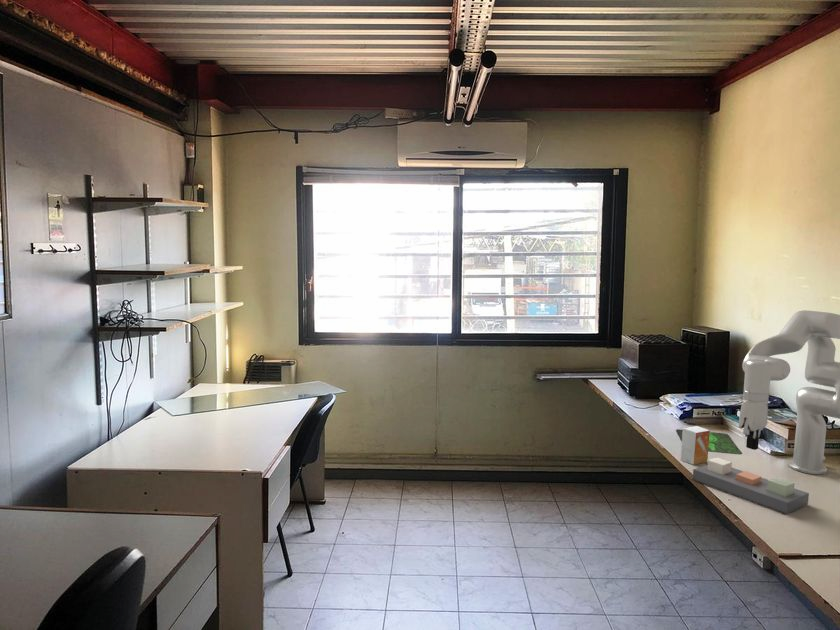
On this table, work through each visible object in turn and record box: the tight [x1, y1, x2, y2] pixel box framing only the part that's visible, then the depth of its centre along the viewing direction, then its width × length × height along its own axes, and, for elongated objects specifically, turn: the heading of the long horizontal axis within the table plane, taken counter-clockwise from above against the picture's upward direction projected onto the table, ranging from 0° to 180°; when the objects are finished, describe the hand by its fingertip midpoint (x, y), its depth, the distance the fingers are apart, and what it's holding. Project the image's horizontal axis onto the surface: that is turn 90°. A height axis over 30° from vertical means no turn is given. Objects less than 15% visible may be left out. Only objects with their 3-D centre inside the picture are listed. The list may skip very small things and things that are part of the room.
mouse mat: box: [675, 428, 743, 455], centre depth 256 cm, size 27×22×1 cm
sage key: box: [767, 476, 795, 497], centre depth 194 cm, size 6×6×5 cm
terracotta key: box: [736, 470, 762, 486], centre depth 203 cm, size 6×6×5 cm
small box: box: [679, 425, 711, 466], centre depth 231 cm, size 8×6×13 cm
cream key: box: [707, 456, 733, 475], centre depth 212 cm, size 6×6×5 cm
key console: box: [692, 464, 810, 515], centre depth 203 cm, size 14×32×4 cm, turn 33°
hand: (752, 448), depth 202 cm, fingers closed
